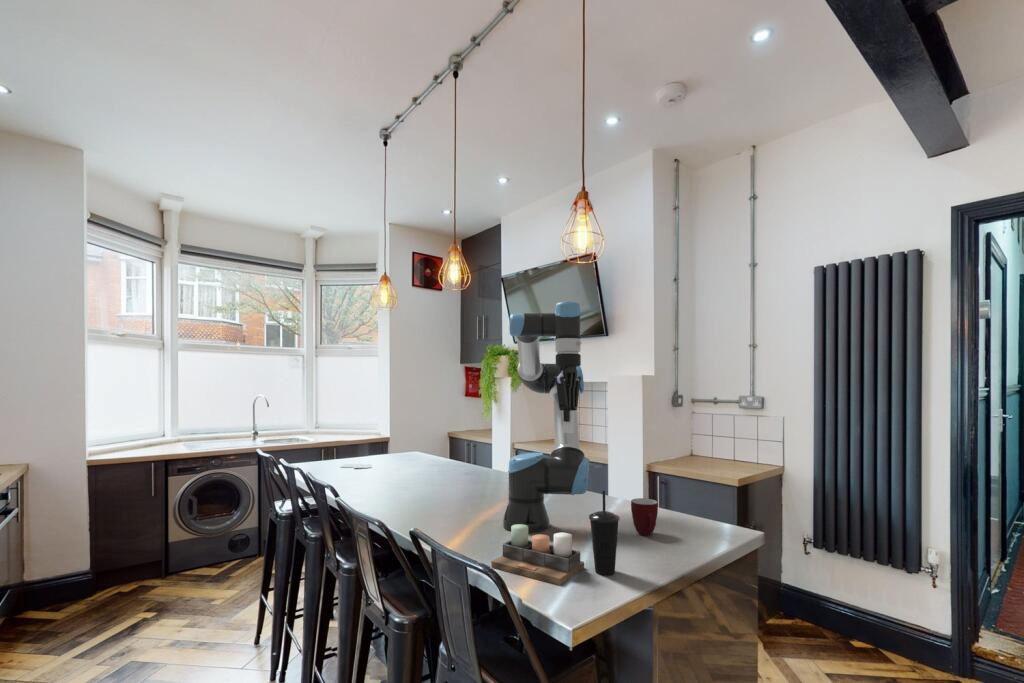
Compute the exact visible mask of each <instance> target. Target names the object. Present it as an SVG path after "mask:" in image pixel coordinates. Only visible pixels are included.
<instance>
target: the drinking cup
mask: <svg viewBox="0 0 1024 683" xmlns="http://www.w3.org/2000/svg"><path fill="white" fill-rule="evenodd" d="M620 518H621V517H620V516H619V515H618V514H615V513H613V512H611V511H608V510H607V511H606V490H602V510H598V511H595V512H593V513H590V514H589V515H588V519H589V521H590V522H589V523H590V532H591V542H592V551H593V552H592V553H593V561H594V570H595V573H596V574H597V575H600V576H606V577H607V576H613V575H615V573H616V561H617V547H618V546H617V544H618V530H619V521H620Z"/></svg>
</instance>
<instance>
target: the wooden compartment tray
mask: <svg viewBox="0 0 1024 683" xmlns="http://www.w3.org/2000/svg"><path fill="white" fill-rule="evenodd" d="M490 565H491V568H493V569H497V570H500V571H504V572H509V573H513V574H515V575H519V576H520V575H521V576H524V577H528V578H532V579H535V580H539V581H543V582H546V583H550V584H555V585H558V586H561V585H563V583H565V582H566V581H568V580H570V579H571V578H573V577H574V576H575V575H576V574H578V573H580V571H582V570H583V569H585V562H584V561H582V560H581V551H580V550H576V549H572V556H570V557H569V558H564V557H559V556H555V555H554V544H550V550H549V551H547V552H546V553H542V552H537V551H533V550H532V540H529V539H528V546H526V547H524V548H520V547H515V546H511V539H510V540H508V541H506V542H504V543H502V555H501V556H499V557H497V558H495V559H493V560H491V564H490Z"/></svg>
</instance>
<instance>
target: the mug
mask: <svg viewBox="0 0 1024 683" xmlns="http://www.w3.org/2000/svg"><path fill="white" fill-rule="evenodd" d="M630 509H631V511H630V512H631V516H632V522H633V526H634V528H635V530H636V532H637V534H638V535H640V536H643V537H647V536H651V535H652V534H653V532H654V530H655V528H656V524H657V519H658V510H659V505H658V501H657V500H655V499H652V498H642V497H641V498H633V499H631V501H630Z"/></svg>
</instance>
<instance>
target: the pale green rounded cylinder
mask: <svg viewBox="0 0 1024 683" xmlns="http://www.w3.org/2000/svg"><path fill="white" fill-rule="evenodd" d="M510 540H511V546H515V547H520V548H524V547H526V546H528V540H529V533H528V526H527V525H523V524H516V525H512V526H511V531H510Z"/></svg>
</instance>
